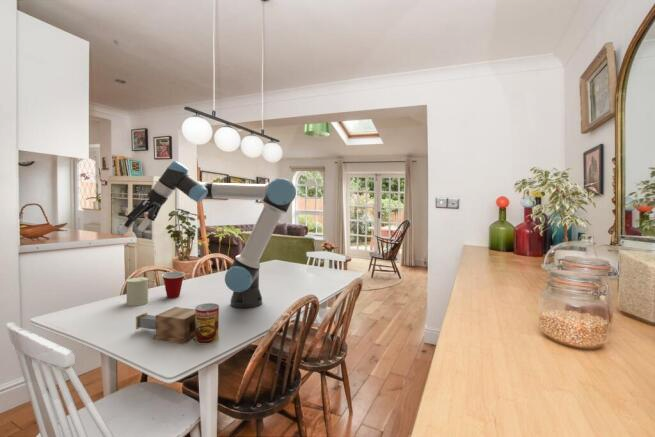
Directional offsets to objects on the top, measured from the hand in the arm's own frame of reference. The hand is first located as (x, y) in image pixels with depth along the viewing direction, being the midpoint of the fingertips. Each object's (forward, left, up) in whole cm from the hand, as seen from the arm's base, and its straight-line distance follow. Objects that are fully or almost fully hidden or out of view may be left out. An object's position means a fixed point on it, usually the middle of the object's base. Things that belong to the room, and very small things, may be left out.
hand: (131, 231), depth 139 cm
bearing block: (-15, +37, -36) cm, 54 cm away
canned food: (-23, +45, -36) cm, 62 cm away
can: (-2, -13, -36) cm, 38 cm away
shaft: (-11, +32, -35) cm, 48 cm away
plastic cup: (-18, -17, -36) cm, 44 cm away
